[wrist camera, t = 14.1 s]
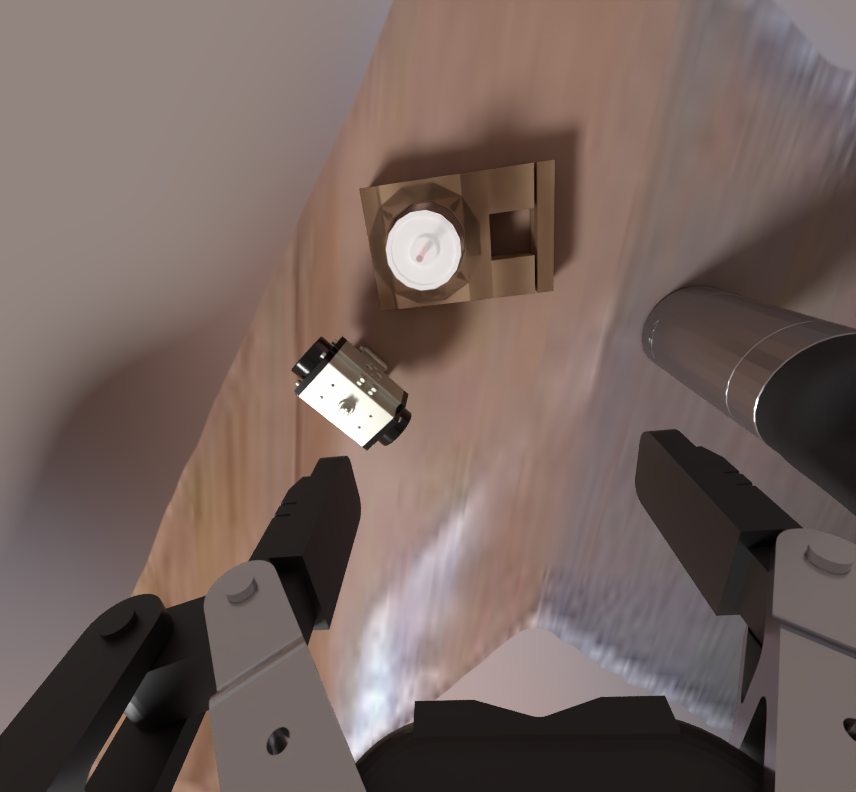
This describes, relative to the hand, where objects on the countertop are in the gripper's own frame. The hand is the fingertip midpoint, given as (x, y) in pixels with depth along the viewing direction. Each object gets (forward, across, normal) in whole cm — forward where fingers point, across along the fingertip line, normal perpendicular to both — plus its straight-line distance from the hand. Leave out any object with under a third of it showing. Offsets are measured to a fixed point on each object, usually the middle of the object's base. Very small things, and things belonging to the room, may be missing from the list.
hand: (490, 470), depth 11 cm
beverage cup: (+33, +3, -4) cm, 34 cm away
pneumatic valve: (+33, +11, +8) cm, 36 cm away
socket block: (+33, 0, -4) cm, 33 cm away
